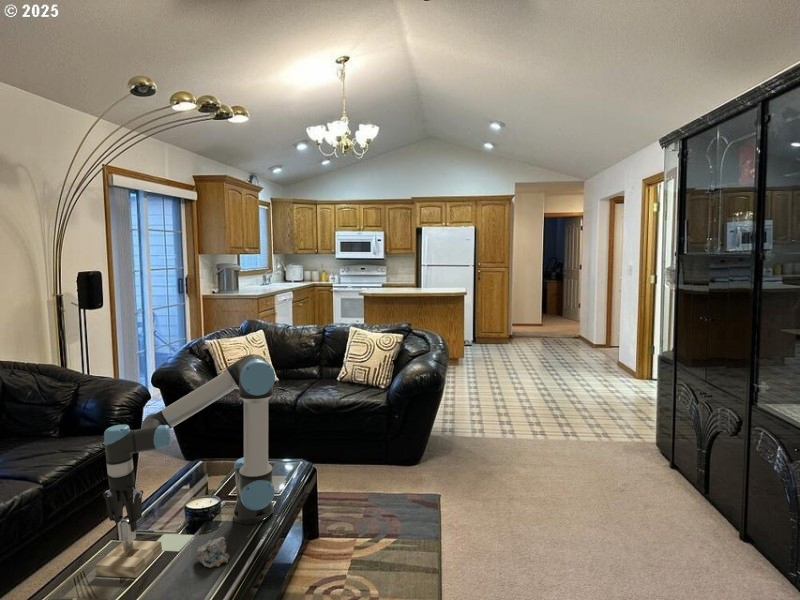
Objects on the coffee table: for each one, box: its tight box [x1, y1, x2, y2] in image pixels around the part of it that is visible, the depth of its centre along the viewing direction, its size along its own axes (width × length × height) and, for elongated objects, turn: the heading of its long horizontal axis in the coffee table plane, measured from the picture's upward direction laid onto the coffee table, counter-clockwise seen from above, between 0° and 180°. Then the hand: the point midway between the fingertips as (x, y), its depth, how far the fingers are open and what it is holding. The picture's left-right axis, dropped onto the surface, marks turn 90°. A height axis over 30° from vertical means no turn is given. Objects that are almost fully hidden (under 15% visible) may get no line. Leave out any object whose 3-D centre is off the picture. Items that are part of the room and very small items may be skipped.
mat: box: [156, 533, 195, 552], centre depth 182 cm, size 12×10×1 cm
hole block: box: [95, 540, 163, 578], centre depth 170 cm, size 14×14×4 cm
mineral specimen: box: [196, 536, 230, 568], centre depth 170 cm, size 10×8×10 cm
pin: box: [121, 517, 134, 552], centre depth 170 cm, size 3×3×10 cm
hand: (127, 539), depth 170 cm, fingers closed on pin, 3 cm apart
